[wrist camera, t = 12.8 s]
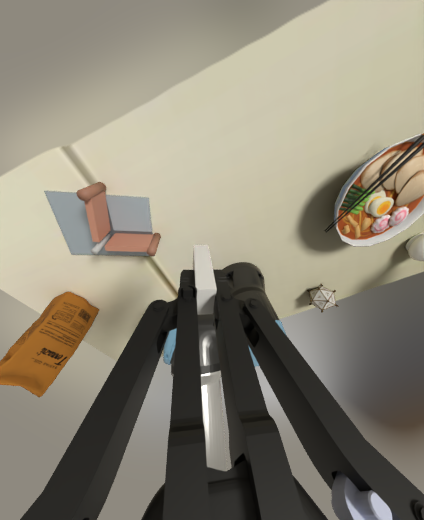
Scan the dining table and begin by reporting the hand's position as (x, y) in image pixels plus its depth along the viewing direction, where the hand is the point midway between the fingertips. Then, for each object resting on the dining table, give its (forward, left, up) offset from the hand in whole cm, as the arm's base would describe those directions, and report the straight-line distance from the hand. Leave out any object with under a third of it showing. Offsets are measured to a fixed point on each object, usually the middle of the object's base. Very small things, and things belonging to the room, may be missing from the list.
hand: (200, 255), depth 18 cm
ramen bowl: (+4, -41, -25) cm, 48 cm away
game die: (-29, -44, -25) cm, 58 cm away
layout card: (-8, +20, -24) cm, 33 cm away
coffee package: (-35, +35, -25) cm, 55 cm away
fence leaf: (-3, +19, -24) cm, 31 cm away
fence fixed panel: (-10, +14, -24) cm, 30 cm away
